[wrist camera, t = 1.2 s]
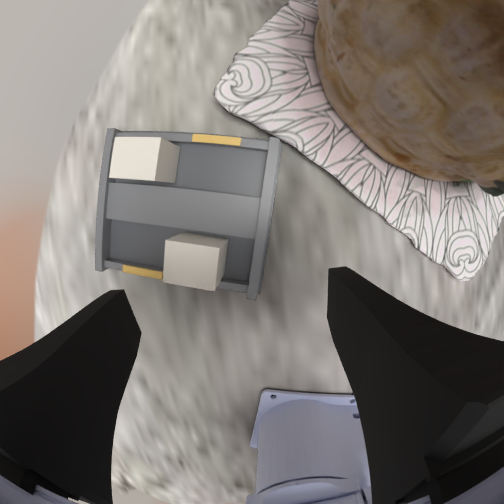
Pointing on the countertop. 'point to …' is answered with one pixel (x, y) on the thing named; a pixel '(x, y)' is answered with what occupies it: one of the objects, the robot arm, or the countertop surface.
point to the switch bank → (191, 206)
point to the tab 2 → (195, 260)
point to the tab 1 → (144, 159)
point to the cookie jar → (390, 110)
